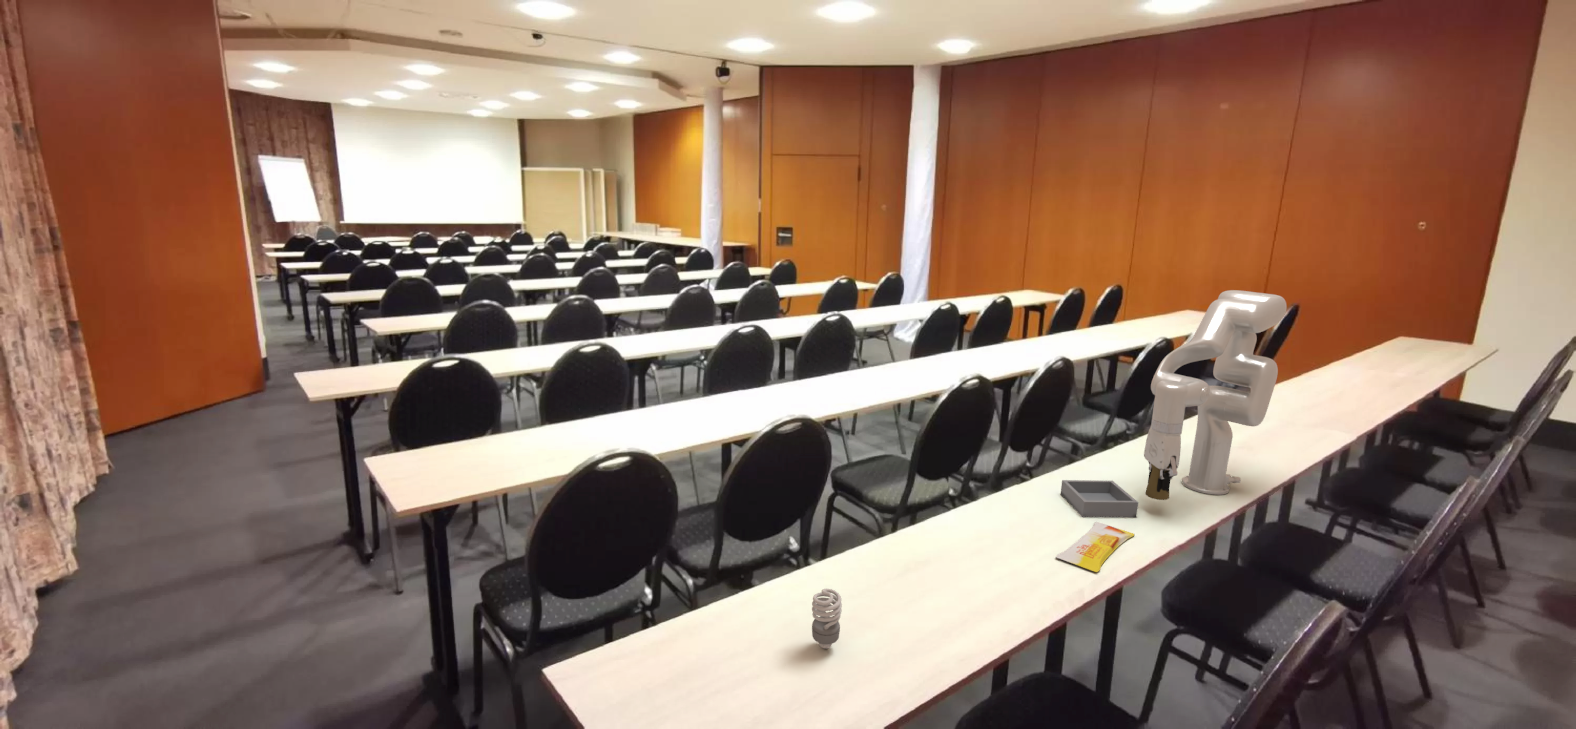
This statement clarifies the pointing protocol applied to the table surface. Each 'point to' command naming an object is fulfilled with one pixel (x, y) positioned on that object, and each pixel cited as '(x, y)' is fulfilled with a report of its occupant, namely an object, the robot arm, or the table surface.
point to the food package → (1095, 546)
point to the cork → (1152, 485)
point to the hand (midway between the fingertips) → (1158, 487)
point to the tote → (1098, 498)
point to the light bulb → (826, 617)
